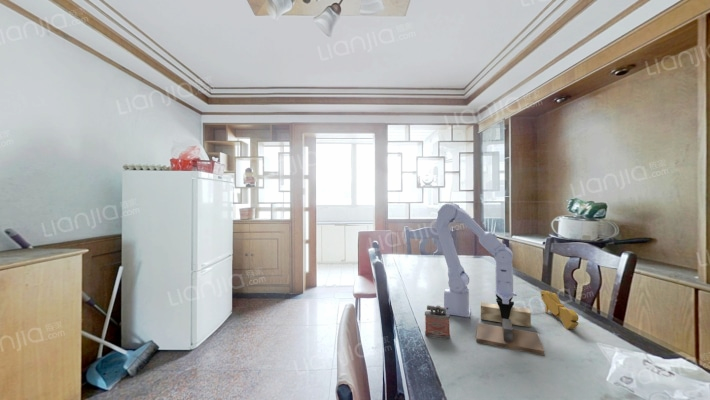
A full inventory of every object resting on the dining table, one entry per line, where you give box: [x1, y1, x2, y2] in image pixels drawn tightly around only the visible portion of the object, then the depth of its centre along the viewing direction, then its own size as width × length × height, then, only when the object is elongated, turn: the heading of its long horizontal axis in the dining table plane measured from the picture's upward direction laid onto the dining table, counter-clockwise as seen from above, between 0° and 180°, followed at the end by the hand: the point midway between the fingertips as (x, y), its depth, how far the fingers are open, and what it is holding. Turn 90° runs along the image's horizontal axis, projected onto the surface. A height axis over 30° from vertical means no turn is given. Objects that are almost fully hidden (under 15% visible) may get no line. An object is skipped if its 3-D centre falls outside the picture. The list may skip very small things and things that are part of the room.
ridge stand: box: [476, 318, 545, 356], centre depth 89 cm, size 18×12×5 cm, turn 64°
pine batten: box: [480, 301, 532, 328], centre depth 101 cm, size 16×4×5 cm, turn 64°
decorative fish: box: [540, 290, 580, 330], centre depth 103 cm, size 22×3×10 cm, turn 169°
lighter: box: [424, 305, 451, 340], centre depth 92 cm, size 8×3×10 cm, turn 71°
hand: (504, 316), depth 101 cm, fingers closed on pine batten, 4 cm apart
